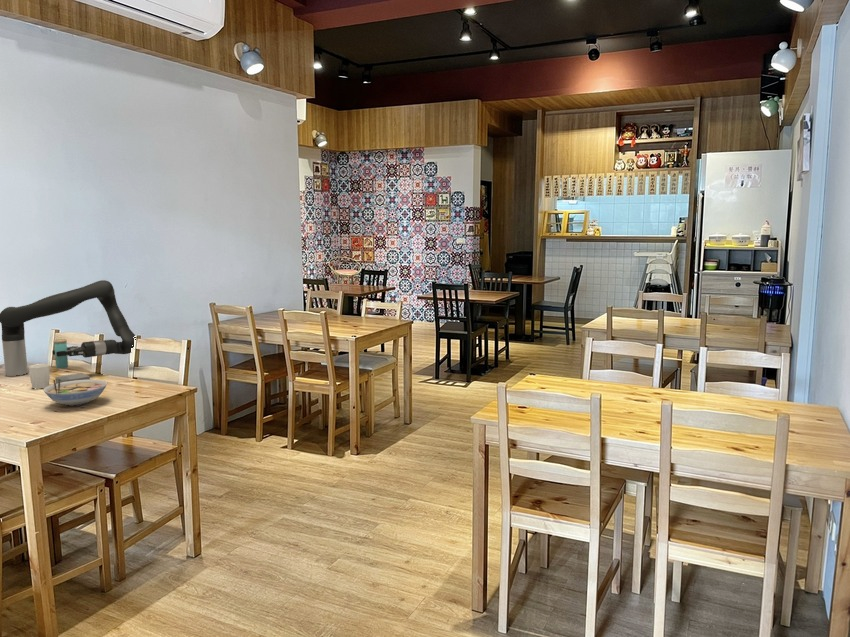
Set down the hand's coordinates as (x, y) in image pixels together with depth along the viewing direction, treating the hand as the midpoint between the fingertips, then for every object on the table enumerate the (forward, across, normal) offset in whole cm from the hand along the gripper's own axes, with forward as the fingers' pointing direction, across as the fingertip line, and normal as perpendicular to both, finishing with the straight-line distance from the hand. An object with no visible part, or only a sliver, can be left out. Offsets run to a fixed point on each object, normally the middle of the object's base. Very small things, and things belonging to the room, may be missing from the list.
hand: (54, 353), depth 289 cm
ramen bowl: (+7, +49, +13) cm, 51 cm away
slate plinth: (-3, +12, +13) cm, 18 cm away
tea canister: (-3, 0, +7) cm, 7 cm away
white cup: (+9, +8, +14) cm, 18 cm away
